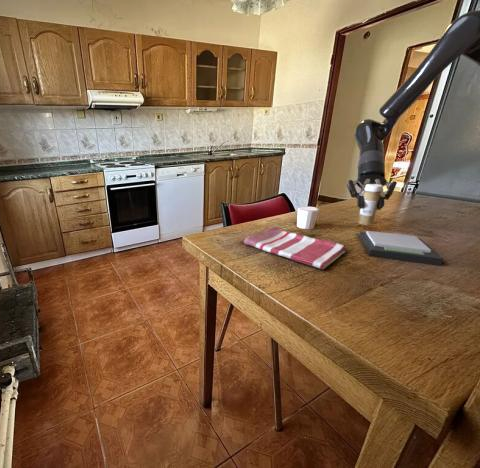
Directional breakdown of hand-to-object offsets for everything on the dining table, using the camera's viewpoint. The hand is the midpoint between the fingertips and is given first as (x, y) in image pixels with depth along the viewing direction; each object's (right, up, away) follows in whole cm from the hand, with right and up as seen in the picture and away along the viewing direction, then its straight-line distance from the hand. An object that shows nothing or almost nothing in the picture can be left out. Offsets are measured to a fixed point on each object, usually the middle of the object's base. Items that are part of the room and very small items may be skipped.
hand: (370, 207), depth 86 cm
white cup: (-17, -6, +10) cm, 20 cm away
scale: (-2, -13, -11) cm, 17 cm away
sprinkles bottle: (+1, -5, +4) cm, 7 cm away
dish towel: (-30, -13, -8) cm, 34 cm away
